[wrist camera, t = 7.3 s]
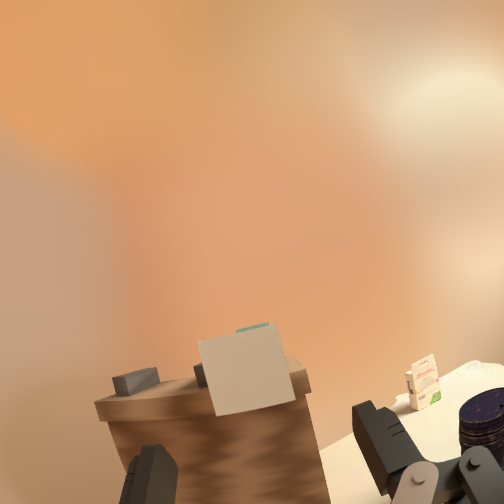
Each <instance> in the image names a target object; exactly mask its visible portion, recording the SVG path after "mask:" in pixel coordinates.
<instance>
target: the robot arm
mask: <svg viewBox="0 0 504 504" xmlns="http://www.w3.org/2000/svg"><path fill="white" fill-rule="evenodd" d="M352 426H353V432H354V436H355V439H356V441H357V443H358V445H359V447H360V450H361V452H362V454H363V456H364V458H365V461H366V463H367V465H368V467H369V470H370V472H371V474H372V476H373V478H374V481H375V483H376V485H377V487H378V490H379V492H380V494H381V496H384V495H386V494H389V496H390V498H391V500H392V501H391V503H390V504H440V503H444V504H504V472H503V471H502V469H501V467H500V466H499V464H498V463H497V461H496V460H495V458H494V457H493V455H492V454H491V452H490V451H489V450H488V449H487V448H485V447H483V446H474V447H471V448H469V449H468V450H466V451H465V452H464V453H463V454H462V456H461V457H458V458H455V459H452V460H448V461H445V462H439V463H435V462H430V461H428V460H426V459H425V458H424V457H423V456H422V455H421V453H420V452H419V450H418V449H417V447H416V445H415V444H414V442H413V441H412V439H411V437H410V436H409V434H408V433H407V431H405V428H404V426H403V425H402V424H401V422H400V420H399V419H398V417H397V415H396V414H395V413H394V412H393V411H391V410H389V409H388V408H386V407H383V408H381V409H378V410H376V408H375V407H374V405H373V403H372V402H371V401H370V400H368V401H366V402H363V403H361V404H358V405H355V406H353V407H352ZM177 479H178V466H177V464H176V462H175V460H174V459H173V458H172V457H171V455H170V454H169V453H168V452H167V451H166V449H165V448H164V447H163V446H162V445H161V444H144V445H143V446H142V449H141V452H140V455H135V457H134V458H133V459H132V461H131V462H130V463H129V467H128V471H127V475H126V478H125V482H124V486H123V490H122V494H121V498H120V502H119V504H175V497H176V488H177Z"/></svg>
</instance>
